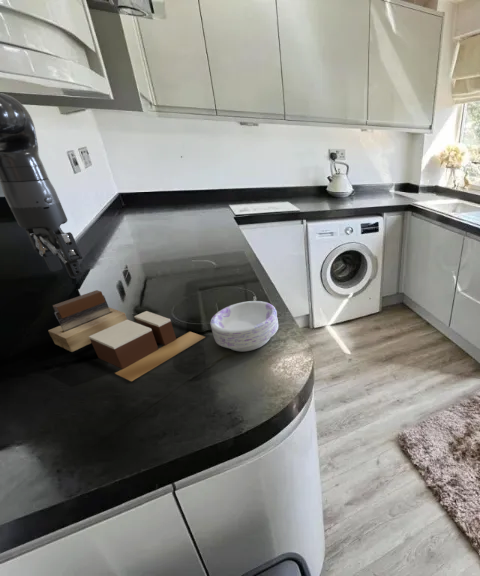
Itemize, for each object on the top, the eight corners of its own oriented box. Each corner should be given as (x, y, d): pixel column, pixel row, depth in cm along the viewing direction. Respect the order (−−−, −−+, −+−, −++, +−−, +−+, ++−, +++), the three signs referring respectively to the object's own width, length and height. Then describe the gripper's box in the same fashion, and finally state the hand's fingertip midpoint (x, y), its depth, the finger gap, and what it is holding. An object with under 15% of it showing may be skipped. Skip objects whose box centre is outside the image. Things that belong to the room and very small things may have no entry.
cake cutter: (74, 349, 78) (54, 308, 73) (69, 347, 79) (49, 306, 74) (119, 329, 86) (103, 290, 81) (114, 327, 87) (99, 289, 82)
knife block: (73, 355, 76) (65, 338, 74) (56, 347, 79) (47, 330, 76) (131, 328, 87) (124, 312, 84) (114, 322, 89) (107, 306, 87)
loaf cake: (98, 358, 74) (88, 336, 71) (134, 339, 80) (127, 319, 78) (122, 369, 71) (113, 347, 68) (158, 349, 77) (151, 328, 75)
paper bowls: (218, 331, 86) (212, 305, 83) (277, 320, 92) (273, 296, 88) (214, 365, 74) (207, 337, 70) (283, 351, 79) (279, 324, 76)
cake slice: (141, 336, 82) (134, 316, 79) (153, 330, 84) (146, 310, 82) (165, 345, 79) (158, 325, 76) (176, 339, 81) (170, 319, 78)
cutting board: (78, 358, 75) (77, 355, 75) (155, 321, 90) (154, 318, 89) (132, 385, 68) (131, 381, 67) (206, 340, 83) (205, 336, 82)
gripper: (-7, 202, 67) (29, 273, 74) (28, 209, 61) (63, 286, 69) (40, 196, 73) (69, 263, 80) (75, 202, 68) (103, 273, 75)
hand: (66, 273), depth 74 cm, fingers open, 8 cm apart
